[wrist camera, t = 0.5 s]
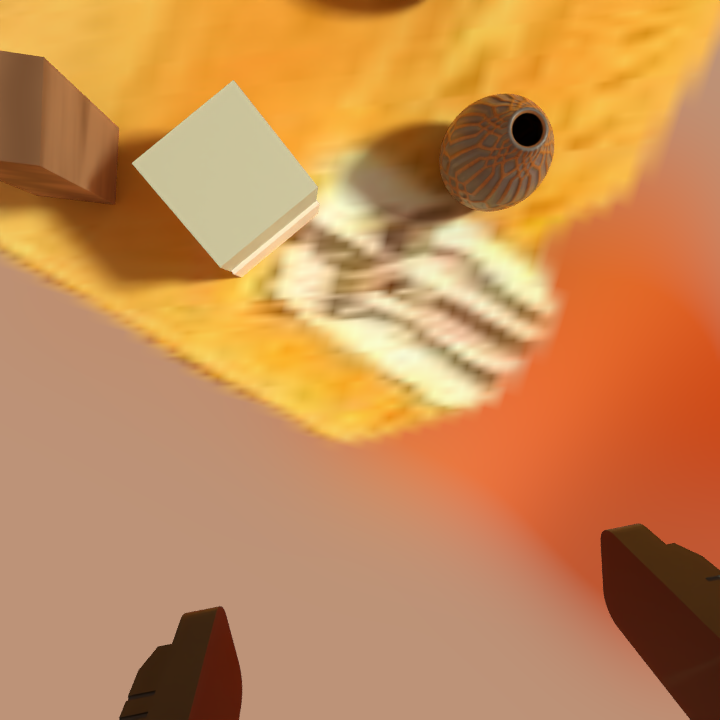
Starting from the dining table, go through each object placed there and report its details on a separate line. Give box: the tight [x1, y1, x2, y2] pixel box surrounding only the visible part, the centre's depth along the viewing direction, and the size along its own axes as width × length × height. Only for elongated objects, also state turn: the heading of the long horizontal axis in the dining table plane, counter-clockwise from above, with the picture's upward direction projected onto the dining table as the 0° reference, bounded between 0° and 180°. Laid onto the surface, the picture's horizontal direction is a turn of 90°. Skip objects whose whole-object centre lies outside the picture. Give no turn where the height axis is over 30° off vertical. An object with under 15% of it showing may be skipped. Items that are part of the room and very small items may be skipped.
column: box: [0, 51, 119, 205], centre depth 29 cm, size 5×5×10 cm
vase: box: [439, 94, 554, 211], centre depth 33 cm, size 7×7×9 cm
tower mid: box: [132, 80, 318, 272], centre depth 30 cm, size 7×7×4 cm
